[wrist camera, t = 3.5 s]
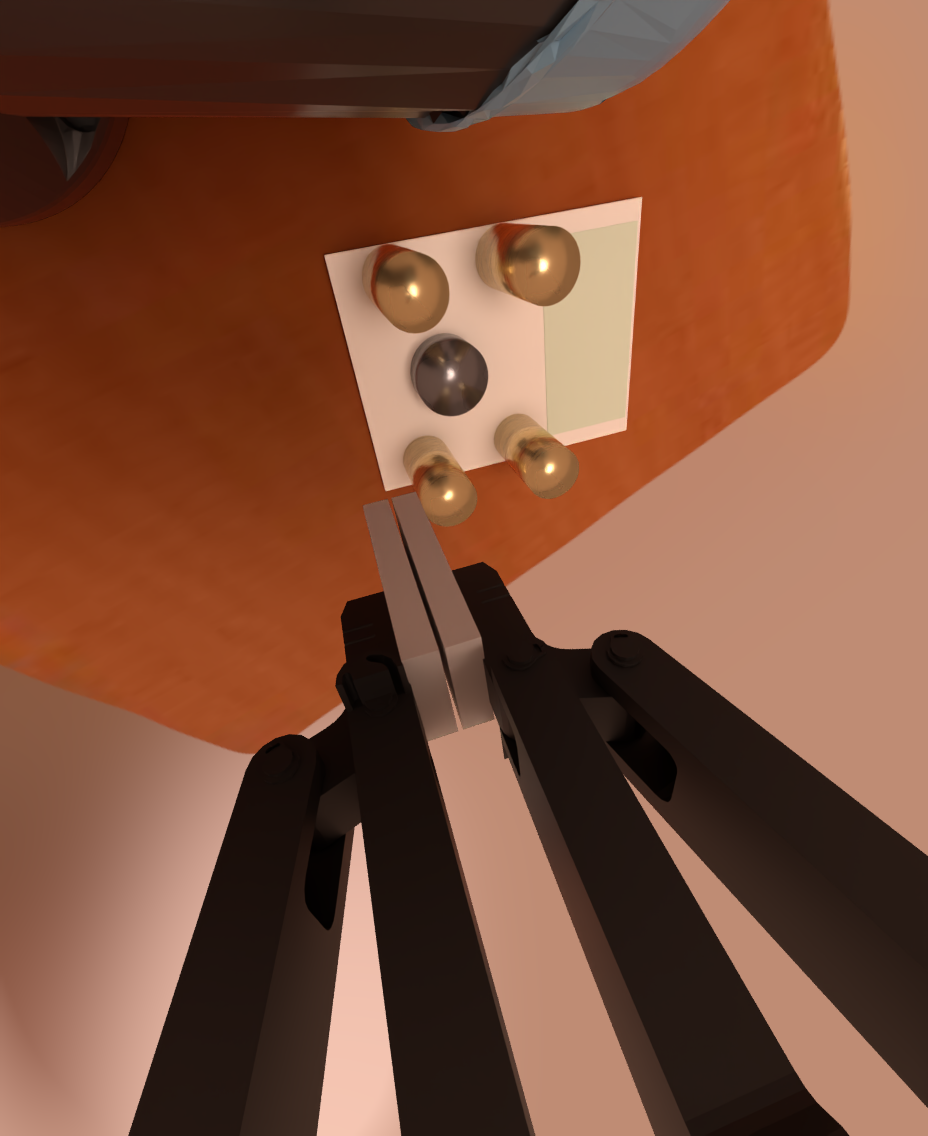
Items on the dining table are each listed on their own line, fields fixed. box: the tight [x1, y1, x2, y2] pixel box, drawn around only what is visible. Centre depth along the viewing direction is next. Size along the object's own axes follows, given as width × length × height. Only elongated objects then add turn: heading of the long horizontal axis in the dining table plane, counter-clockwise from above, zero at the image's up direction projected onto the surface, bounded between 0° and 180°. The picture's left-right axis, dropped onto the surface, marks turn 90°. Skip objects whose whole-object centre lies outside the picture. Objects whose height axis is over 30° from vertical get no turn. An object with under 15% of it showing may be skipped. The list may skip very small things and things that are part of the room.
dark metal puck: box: [410, 333, 488, 416], centre depth 28 cm, size 4×4×2 cm
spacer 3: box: [475, 223, 581, 306], centre depth 24 cm, size 3×3×6 cm
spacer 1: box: [362, 244, 450, 334], centre depth 23 cm, size 3×3×6 cm
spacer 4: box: [494, 414, 579, 499], centre depth 30 cm, size 3×3×6 cm
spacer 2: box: [403, 436, 477, 526], centre depth 29 cm, size 3×3×6 cm
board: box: [324, 197, 642, 491], centre depth 29 cm, size 13×17×1 cm
